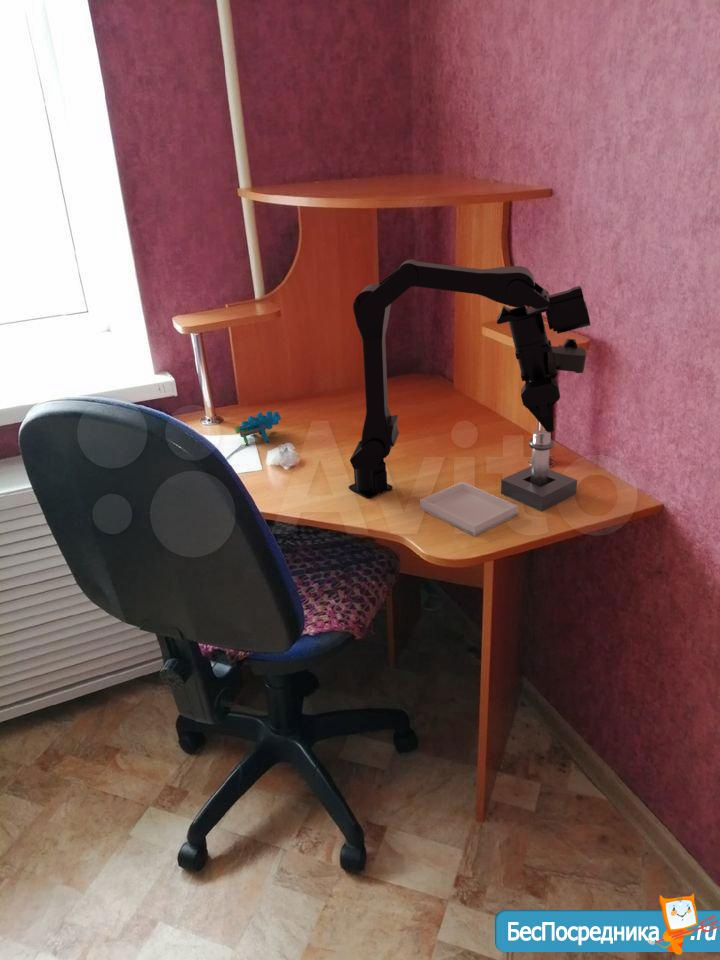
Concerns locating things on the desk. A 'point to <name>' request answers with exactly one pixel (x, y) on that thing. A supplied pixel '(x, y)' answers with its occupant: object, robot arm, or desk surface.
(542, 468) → the steel pin
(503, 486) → the hitch block
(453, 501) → the tray
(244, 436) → the blue spiky toy
